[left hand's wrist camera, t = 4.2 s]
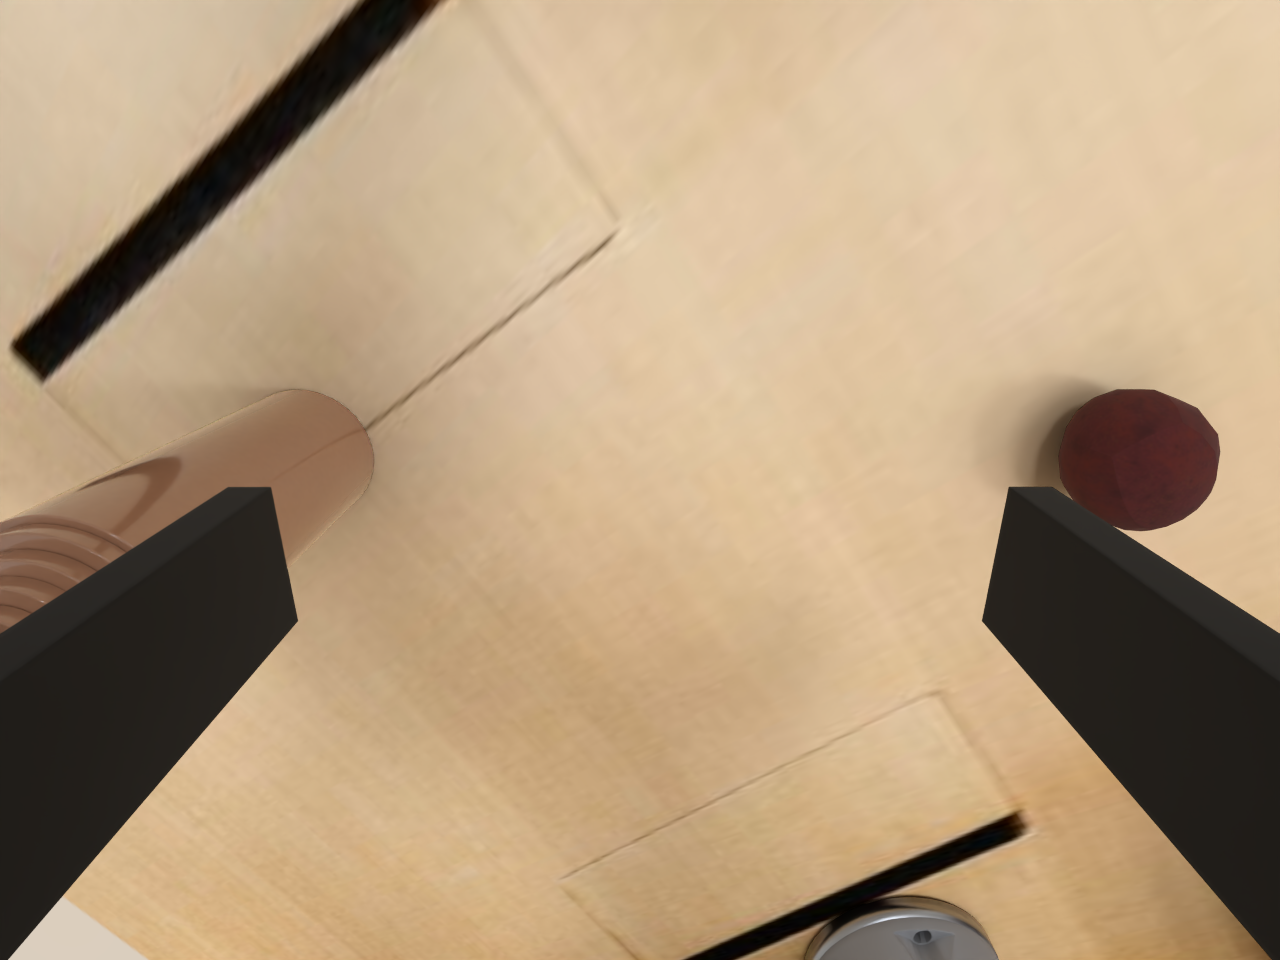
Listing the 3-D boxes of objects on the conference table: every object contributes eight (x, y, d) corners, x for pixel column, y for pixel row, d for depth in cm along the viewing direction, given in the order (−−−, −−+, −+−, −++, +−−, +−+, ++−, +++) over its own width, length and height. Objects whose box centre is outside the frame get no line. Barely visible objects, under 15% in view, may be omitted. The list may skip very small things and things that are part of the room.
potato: (1061, 520, 43) (1138, 575, 36) (1011, 419, 40) (1083, 457, 34) (1178, 457, 41) (1281, 502, 35) (1133, 349, 39) (1234, 375, 32)
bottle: (215, 451, 41) (-323, 742, 18) (294, 361, 39) (-195, 559, 16) (321, 537, 43) (-45, 898, 20) (400, 455, 41) (99, 751, 18)
